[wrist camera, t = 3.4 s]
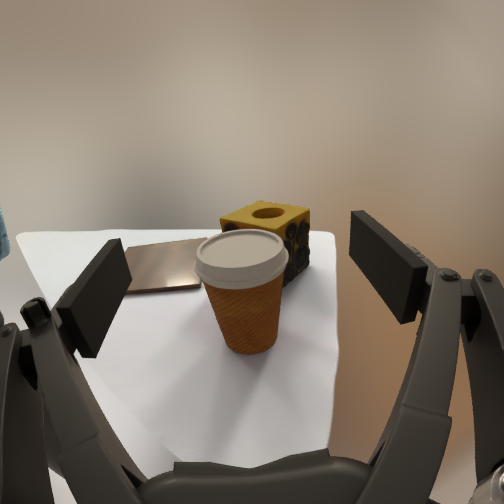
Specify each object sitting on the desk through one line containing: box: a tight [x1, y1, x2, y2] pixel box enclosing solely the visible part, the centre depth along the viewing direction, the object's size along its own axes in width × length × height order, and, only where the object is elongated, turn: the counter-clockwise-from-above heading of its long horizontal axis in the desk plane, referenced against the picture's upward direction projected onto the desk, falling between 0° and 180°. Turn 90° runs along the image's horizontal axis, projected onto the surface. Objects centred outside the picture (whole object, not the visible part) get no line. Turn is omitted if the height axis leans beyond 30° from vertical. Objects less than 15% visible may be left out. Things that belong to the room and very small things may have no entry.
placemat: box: [125, 237, 207, 295], centre depth 52 cm, size 18×18×1 cm
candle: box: [220, 201, 310, 288], centre depth 45 cm, size 10×10×10 cm
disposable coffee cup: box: [194, 229, 289, 354], centre depth 31 cm, size 10×10×12 cm
